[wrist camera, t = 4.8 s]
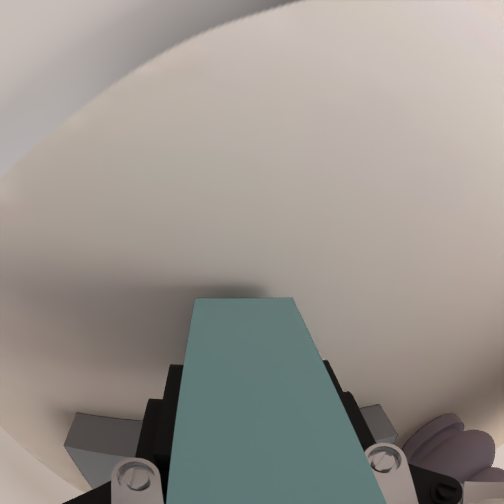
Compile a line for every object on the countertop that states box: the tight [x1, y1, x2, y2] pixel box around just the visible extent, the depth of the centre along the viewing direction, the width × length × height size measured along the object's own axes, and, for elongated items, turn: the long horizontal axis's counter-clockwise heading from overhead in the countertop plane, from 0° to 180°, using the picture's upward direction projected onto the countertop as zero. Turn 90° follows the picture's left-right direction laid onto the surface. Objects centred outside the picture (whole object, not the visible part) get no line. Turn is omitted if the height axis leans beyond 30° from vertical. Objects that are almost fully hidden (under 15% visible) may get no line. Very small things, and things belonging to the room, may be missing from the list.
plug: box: [166, 298, 387, 504], centre depth 9 cm, size 4×5×10 cm
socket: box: [64, 405, 398, 489], centre depth 17 cm, size 20×14×4 cm
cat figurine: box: [402, 413, 504, 484], centre depth 15 cm, size 8×8×12 cm
